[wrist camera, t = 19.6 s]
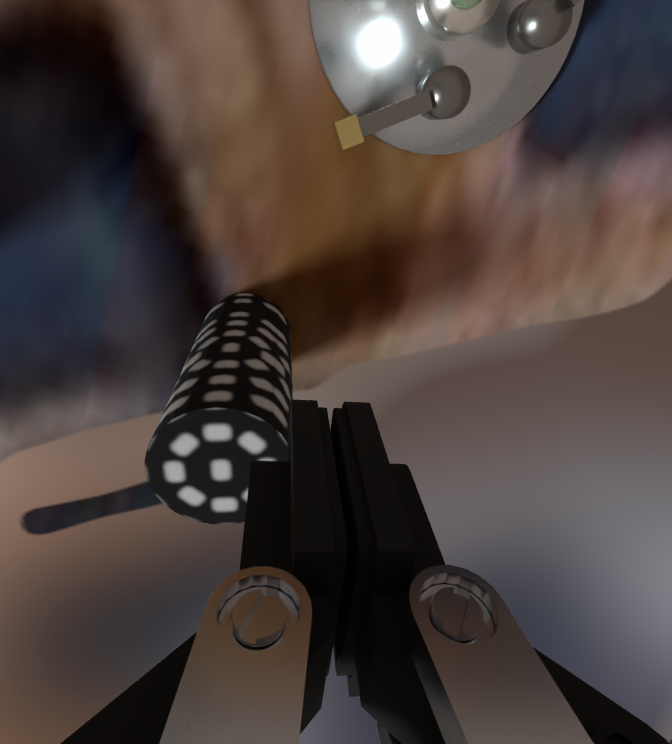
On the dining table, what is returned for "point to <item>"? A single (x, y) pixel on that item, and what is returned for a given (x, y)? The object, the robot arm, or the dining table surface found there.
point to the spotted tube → (224, 411)
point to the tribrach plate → (433, 64)
